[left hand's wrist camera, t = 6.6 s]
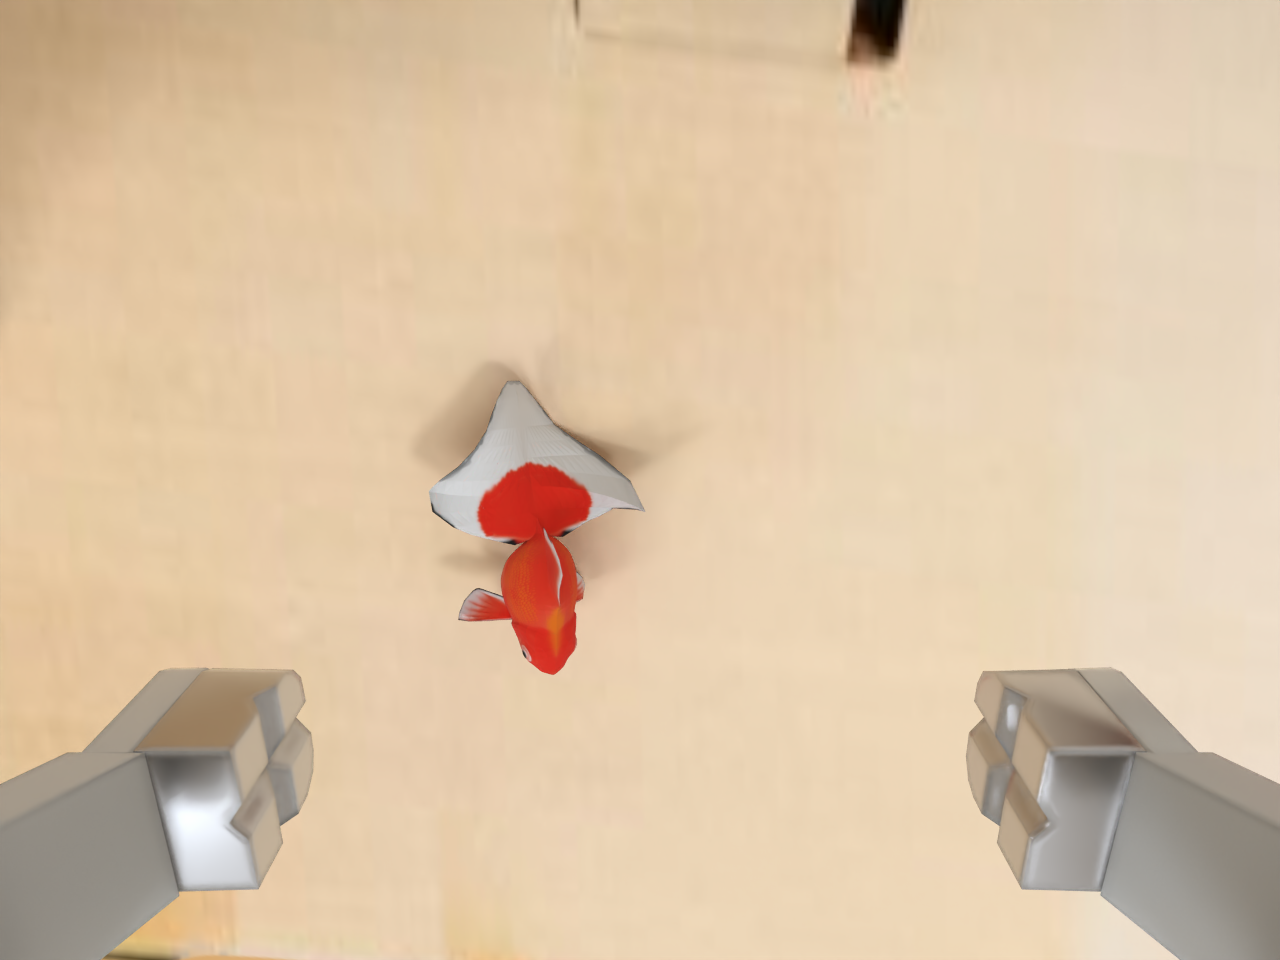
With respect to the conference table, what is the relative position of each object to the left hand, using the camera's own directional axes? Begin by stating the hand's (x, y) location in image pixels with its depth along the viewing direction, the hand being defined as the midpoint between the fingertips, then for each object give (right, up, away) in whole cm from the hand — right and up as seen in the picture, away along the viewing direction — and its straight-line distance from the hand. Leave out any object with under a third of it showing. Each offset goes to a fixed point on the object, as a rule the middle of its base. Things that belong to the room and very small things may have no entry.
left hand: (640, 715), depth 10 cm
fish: (-6, +2, +40) cm, 40 cm away
